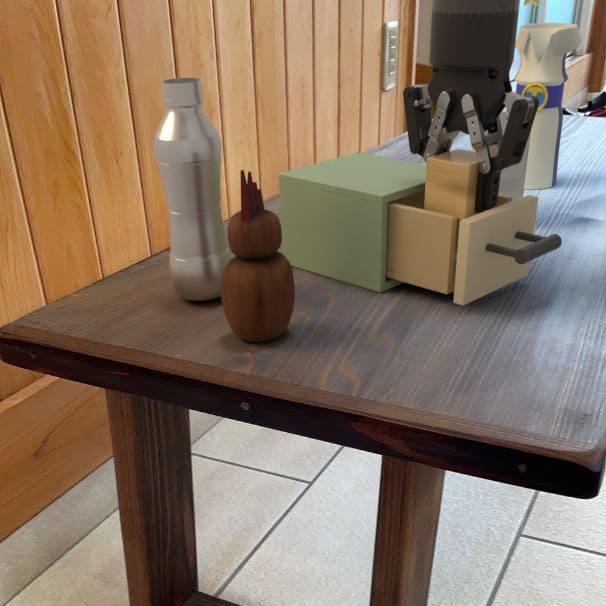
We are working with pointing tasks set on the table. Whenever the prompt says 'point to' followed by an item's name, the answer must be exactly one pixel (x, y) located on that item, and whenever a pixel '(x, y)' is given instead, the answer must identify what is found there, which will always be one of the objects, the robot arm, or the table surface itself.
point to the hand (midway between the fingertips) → (459, 206)
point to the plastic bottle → (191, 190)
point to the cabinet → (344, 215)
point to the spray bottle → (544, 92)
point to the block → (452, 183)
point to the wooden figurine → (256, 271)
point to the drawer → (463, 246)
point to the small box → (512, 169)
